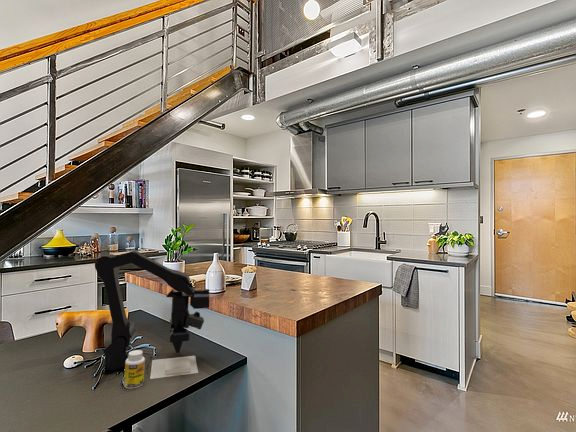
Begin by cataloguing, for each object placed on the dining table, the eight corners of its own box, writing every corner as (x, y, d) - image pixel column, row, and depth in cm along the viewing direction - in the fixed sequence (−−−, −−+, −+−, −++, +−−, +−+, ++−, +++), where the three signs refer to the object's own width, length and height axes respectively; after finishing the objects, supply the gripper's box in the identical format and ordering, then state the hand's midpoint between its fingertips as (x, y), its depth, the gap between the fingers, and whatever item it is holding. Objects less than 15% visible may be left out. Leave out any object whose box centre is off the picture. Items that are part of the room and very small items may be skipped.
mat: (150, 380, 101) (150, 378, 101) (152, 361, 114) (152, 360, 114) (198, 373, 106) (198, 372, 106) (195, 356, 119) (195, 355, 119)
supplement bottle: (124, 391, 94) (126, 357, 94) (122, 383, 98) (124, 350, 98) (145, 387, 97) (146, 354, 97) (142, 379, 101) (143, 347, 101)
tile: (165, 364, 111) (165, 375, 104) (165, 359, 111) (165, 370, 104) (188, 361, 114) (190, 372, 106) (189, 357, 114) (190, 367, 106)
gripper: (205, 315, 106) (203, 361, 106) (200, 301, 124) (198, 340, 124) (170, 317, 102) (168, 365, 102) (170, 302, 120) (168, 343, 120)
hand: (177, 352), depth 112 cm, fingers closed
